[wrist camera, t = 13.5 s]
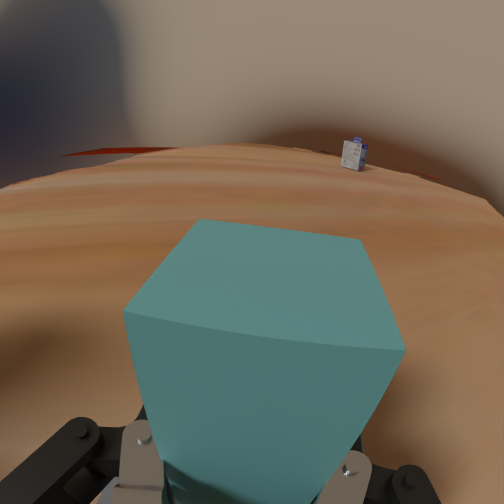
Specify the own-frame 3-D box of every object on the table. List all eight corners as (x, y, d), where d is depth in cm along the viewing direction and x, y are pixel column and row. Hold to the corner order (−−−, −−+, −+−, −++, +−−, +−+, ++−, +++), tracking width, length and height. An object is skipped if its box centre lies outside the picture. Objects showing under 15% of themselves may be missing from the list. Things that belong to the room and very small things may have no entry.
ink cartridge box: (364, 171, 130) (369, 139, 124) (358, 171, 127) (362, 138, 121) (346, 166, 137) (351, 135, 131) (340, 166, 134) (344, 135, 128)
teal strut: (187, 527, 11) (122, 311, 5) (205, 462, 14) (199, 218, 9) (276, 541, 10) (405, 350, 4) (283, 473, 14) (360, 239, 8)
